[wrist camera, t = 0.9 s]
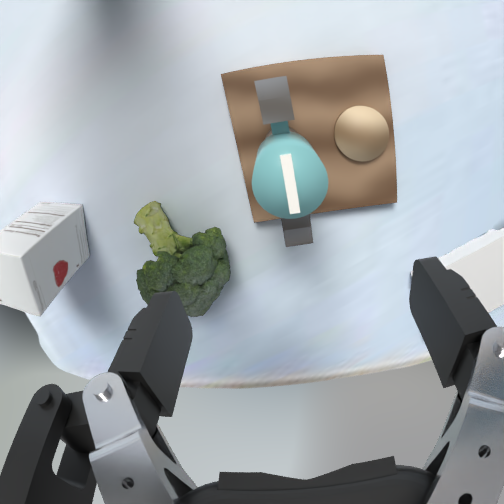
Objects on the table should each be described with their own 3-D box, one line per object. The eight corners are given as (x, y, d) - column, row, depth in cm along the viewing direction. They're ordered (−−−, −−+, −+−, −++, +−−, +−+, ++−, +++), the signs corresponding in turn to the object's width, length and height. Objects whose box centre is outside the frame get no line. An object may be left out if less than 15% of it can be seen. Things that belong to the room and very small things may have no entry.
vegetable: (191, 164, 34) (263, 278, 33) (185, 205, 46) (238, 291, 45) (95, 215, 30) (164, 340, 29) (114, 245, 42) (167, 335, 41)
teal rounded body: (246, 112, 24) (237, 122, 18) (305, 103, 23) (318, 109, 17) (266, 211, 28) (265, 252, 22) (320, 203, 28) (335, 242, 21)
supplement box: (91, 257, 44) (41, 320, 31) (49, 250, 44) (-3, 305, 31) (84, 203, 39) (20, 257, 26) (39, 199, 39) (-24, 247, 26)
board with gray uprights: (222, 74, 30) (199, 69, 20) (379, 55, 28) (425, 46, 17) (254, 217, 39) (247, 270, 29) (392, 198, 36) (432, 243, 26)
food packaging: (424, 329, 49) (510, 284, 42) (429, 342, 46) (519, 295, 39) (407, 268, 43) (507, 217, 36) (414, 281, 40) (518, 226, 33)
